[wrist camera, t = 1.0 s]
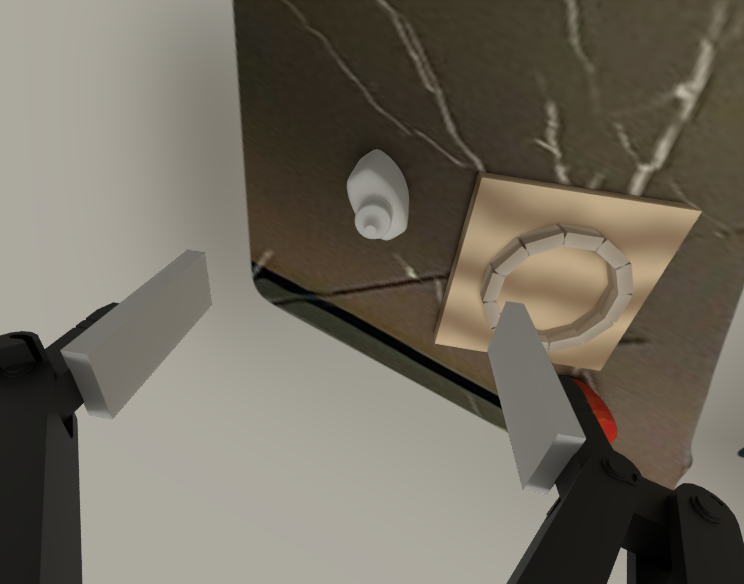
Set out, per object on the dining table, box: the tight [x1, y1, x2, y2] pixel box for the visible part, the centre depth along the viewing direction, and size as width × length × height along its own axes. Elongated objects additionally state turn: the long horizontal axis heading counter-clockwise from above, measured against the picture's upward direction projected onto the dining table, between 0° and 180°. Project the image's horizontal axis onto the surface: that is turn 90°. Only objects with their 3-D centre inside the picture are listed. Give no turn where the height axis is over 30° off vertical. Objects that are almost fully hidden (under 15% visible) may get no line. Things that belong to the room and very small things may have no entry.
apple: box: [573, 379, 617, 444], centre depth 40 cm, size 6×6×8 cm
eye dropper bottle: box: [347, 149, 409, 240], centre depth 28 cm, size 4×6×12 cm
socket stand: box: [434, 172, 702, 371], centre depth 34 cm, size 18×18×4 cm
